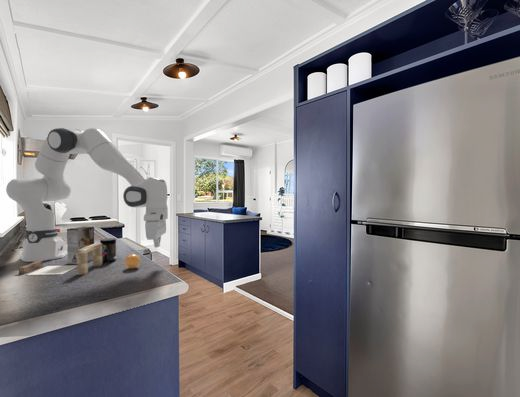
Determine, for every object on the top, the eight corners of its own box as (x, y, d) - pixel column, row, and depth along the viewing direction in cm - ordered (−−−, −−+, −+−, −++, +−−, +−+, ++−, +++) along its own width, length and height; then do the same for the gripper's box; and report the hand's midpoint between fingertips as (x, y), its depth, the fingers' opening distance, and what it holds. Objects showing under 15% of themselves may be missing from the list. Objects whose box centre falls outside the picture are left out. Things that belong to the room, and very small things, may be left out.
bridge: (77, 274, 108) (77, 250, 108) (95, 264, 123) (95, 243, 123) (85, 274, 109) (85, 250, 108) (102, 264, 123) (102, 243, 123)
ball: (127, 266, 121) (127, 253, 120) (142, 266, 121) (142, 252, 121) (122, 270, 115) (122, 256, 114) (137, 270, 115) (137, 255, 115)
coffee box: (83, 259, 134) (83, 226, 133) (94, 259, 132) (94, 226, 132) (66, 263, 125) (66, 228, 124) (78, 264, 123) (78, 229, 123)
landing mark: (47, 266, 120) (47, 265, 120) (79, 265, 121) (79, 265, 121) (26, 275, 107) (26, 274, 107) (62, 274, 108) (62, 273, 108)
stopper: (37, 266, 119) (37, 260, 119) (42, 266, 119) (42, 260, 119) (18, 274, 108) (18, 267, 108) (24, 274, 109) (24, 267, 108)
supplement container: (103, 259, 132) (102, 238, 132) (118, 259, 134) (118, 237, 134) (97, 263, 126) (97, 240, 126) (113, 262, 127) (113, 240, 127)
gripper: (155, 213, 128) (155, 242, 129) (142, 217, 108) (142, 251, 108) (169, 213, 129) (169, 242, 129) (158, 216, 109) (159, 251, 109)
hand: (157, 246), depth 119 cm, fingers closed
